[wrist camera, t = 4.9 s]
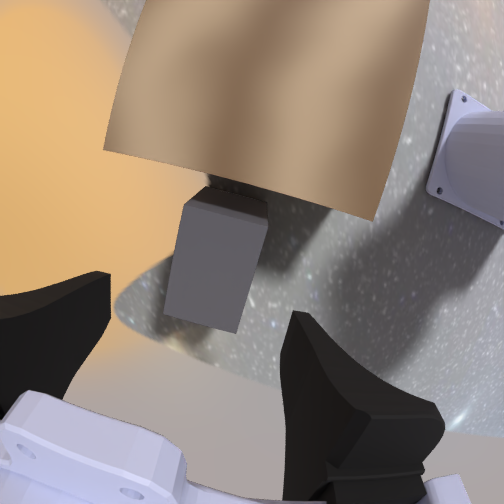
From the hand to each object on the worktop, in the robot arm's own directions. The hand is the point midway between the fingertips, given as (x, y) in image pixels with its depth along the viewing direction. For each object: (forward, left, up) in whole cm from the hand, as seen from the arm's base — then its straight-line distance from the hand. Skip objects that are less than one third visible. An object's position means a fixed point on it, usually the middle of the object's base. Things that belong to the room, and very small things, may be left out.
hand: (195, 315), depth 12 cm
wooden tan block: (0, -12, -5) cm, 12 cm away
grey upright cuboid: (0, 0, -10) cm, 10 cm away
